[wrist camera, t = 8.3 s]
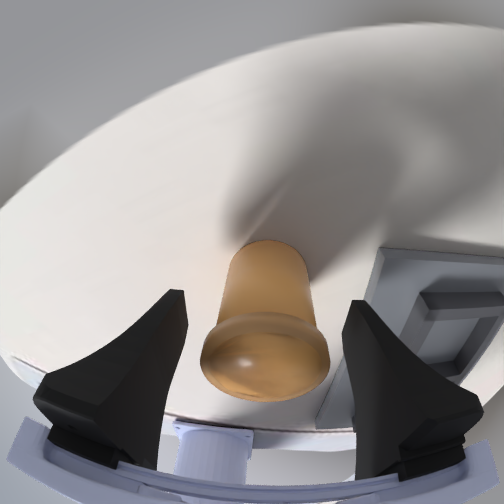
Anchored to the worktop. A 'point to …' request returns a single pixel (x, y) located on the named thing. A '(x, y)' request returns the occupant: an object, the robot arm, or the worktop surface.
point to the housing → (428, 316)
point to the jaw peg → (266, 328)
